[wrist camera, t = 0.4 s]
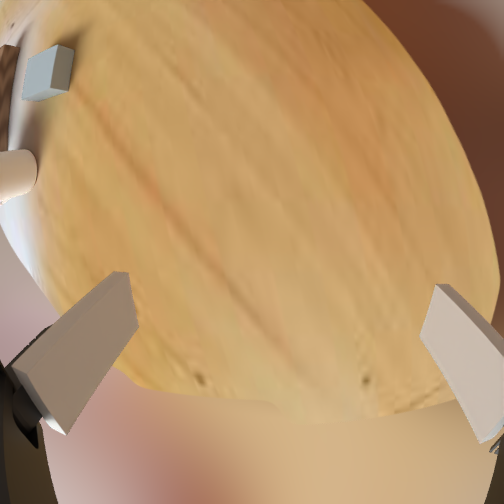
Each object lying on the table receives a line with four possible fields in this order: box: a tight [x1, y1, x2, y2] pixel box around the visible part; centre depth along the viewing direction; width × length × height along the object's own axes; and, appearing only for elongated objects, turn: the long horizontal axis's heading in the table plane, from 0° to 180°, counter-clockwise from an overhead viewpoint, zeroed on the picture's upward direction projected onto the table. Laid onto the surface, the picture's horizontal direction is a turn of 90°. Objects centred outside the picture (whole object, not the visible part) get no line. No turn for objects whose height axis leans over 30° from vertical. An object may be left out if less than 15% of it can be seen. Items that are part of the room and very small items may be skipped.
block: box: [22, 44, 75, 101], centre depth 29 cm, size 8×8×5 cm
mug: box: [0, 149, 37, 206], centre depth 33 cm, size 9×12×11 cm
